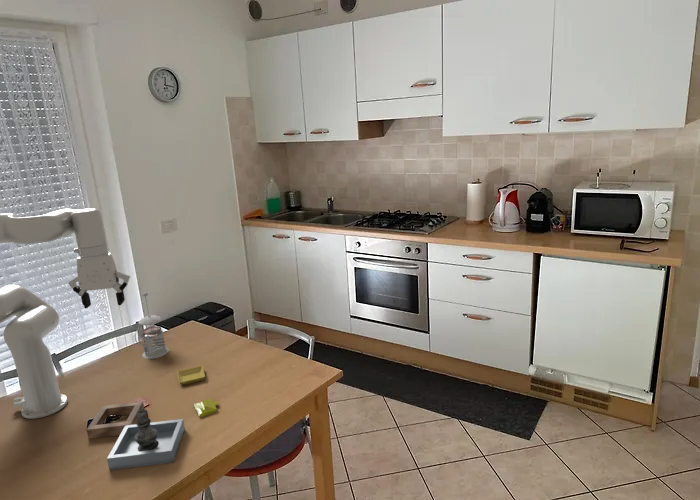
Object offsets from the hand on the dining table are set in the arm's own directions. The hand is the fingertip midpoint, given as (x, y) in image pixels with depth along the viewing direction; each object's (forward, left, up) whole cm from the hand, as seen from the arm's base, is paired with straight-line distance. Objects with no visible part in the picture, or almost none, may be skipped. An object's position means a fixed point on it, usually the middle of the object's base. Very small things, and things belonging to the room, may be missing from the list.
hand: (104, 305), depth 146 cm
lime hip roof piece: (+28, -9, -34) cm, 45 cm away
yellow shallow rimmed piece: (+19, +11, -34) cm, 40 cm away
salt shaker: (+15, -26, -33) cm, 44 cm away
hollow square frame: (+2, -12, -33) cm, 35 cm away
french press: (0, +34, -34) cm, 48 cm away
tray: (+15, -26, -33) cm, 45 cm away
